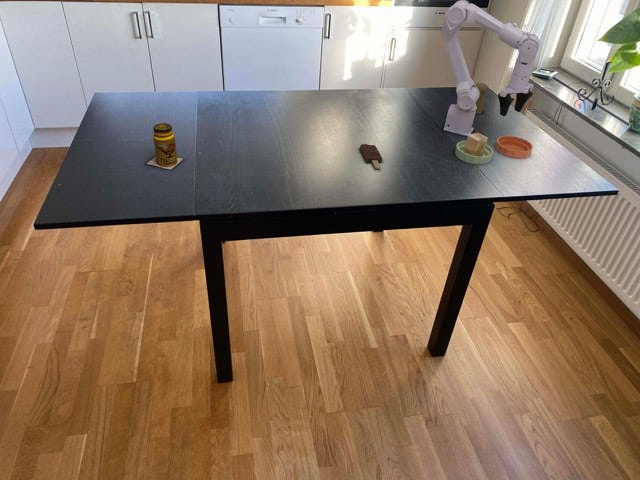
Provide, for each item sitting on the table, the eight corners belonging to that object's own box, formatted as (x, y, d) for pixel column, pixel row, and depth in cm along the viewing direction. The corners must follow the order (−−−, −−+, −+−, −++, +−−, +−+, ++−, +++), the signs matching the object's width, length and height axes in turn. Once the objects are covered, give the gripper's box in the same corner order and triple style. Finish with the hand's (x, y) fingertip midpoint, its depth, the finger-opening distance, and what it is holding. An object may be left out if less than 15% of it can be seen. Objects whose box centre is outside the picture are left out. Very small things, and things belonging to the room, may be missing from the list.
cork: (482, 114, 199) (490, 87, 192) (467, 112, 200) (474, 85, 193) (482, 108, 204) (489, 82, 197) (467, 106, 205) (473, 80, 198)
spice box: (473, 159, 167) (478, 140, 163) (463, 153, 170) (468, 134, 166) (482, 157, 169) (488, 137, 165) (472, 151, 172) (477, 132, 168)
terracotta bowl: (491, 153, 173) (493, 145, 171) (498, 140, 181) (500, 132, 179) (526, 163, 169) (529, 155, 167) (532, 149, 177) (535, 141, 175)
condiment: (171, 170, 151) (166, 133, 144) (146, 164, 153) (140, 127, 146) (183, 159, 157) (179, 123, 149) (159, 153, 158) (154, 118, 151)
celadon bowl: (450, 158, 168) (452, 150, 166) (459, 145, 176) (461, 137, 175) (486, 168, 164) (488, 160, 162) (493, 154, 172) (496, 146, 171)
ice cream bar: (386, 170, 159) (373, 148, 171) (386, 165, 158) (374, 143, 170) (369, 170, 158) (358, 148, 170) (370, 166, 157) (359, 144, 169)
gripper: (516, 81, 161) (505, 121, 169) (545, 74, 168) (532, 113, 176) (499, 74, 166) (489, 113, 174) (528, 68, 172) (516, 106, 181)
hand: (509, 113), depth 175 cm, fingers open, 7 cm apart
